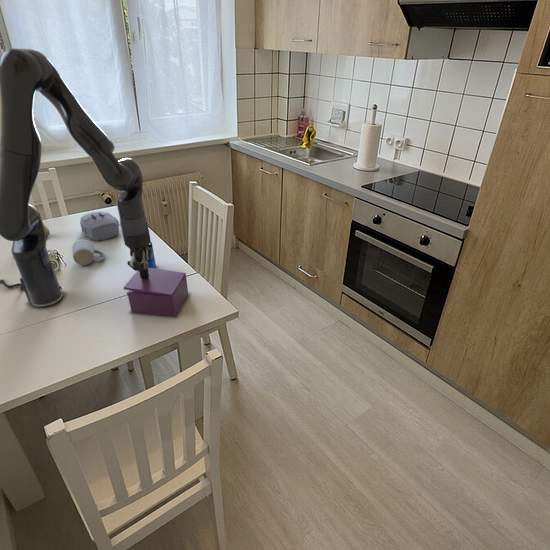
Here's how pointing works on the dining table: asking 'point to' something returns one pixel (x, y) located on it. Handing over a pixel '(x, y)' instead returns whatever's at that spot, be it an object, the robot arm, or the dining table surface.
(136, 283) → the lid
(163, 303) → the file box
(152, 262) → the beverage can
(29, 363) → the dining table surface
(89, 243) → the ceramic mug
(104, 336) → the dining table surface
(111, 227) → the grey rounded bag
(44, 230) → the fennel bulb
